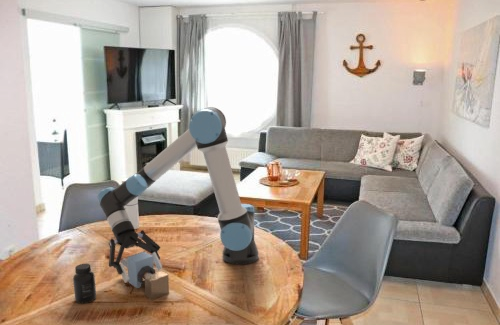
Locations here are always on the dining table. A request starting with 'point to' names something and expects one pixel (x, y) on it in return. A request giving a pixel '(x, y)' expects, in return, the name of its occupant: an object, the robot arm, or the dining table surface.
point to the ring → (142, 271)
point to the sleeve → (138, 266)
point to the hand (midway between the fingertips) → (144, 274)
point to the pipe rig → (153, 283)
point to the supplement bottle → (84, 284)
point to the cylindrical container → (132, 210)
